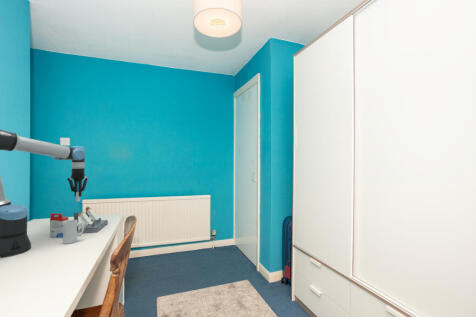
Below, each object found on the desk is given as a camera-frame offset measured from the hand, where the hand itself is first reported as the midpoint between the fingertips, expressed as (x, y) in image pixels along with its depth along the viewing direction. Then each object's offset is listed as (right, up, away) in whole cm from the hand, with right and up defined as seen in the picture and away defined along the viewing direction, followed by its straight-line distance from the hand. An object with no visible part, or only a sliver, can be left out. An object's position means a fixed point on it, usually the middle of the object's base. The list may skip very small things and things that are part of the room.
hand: (78, 201), depth 160 cm
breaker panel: (+13, -18, -2) cm, 23 cm away
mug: (+17, -19, -28) cm, 38 cm away
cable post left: (+5, -18, -11) cm, 22 cm away
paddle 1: (+15, -15, -8) cm, 23 cm away
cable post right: (0, -18, +13) cm, 23 cm away
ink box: (+2, -18, -19) cm, 27 cm away
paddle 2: (+12, -15, +2) cm, 20 cm away
